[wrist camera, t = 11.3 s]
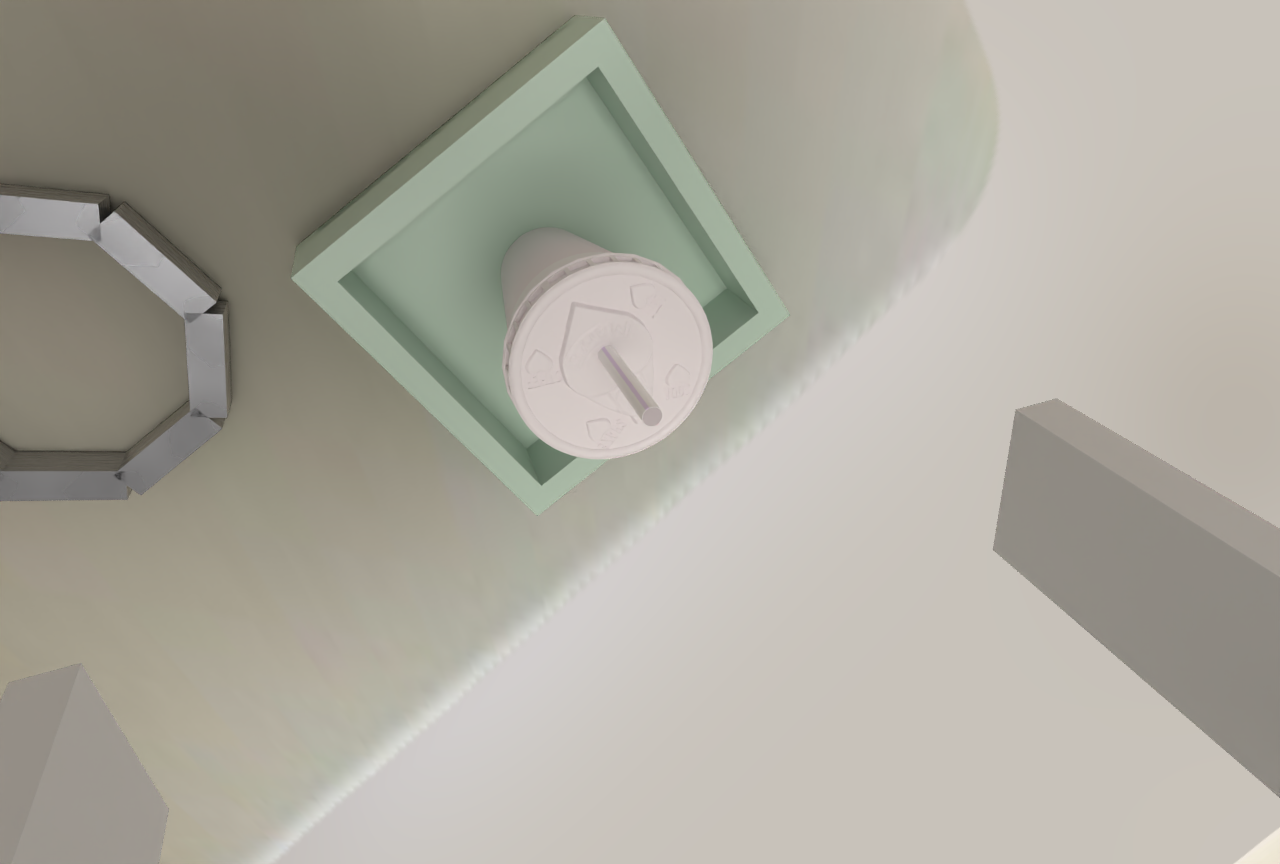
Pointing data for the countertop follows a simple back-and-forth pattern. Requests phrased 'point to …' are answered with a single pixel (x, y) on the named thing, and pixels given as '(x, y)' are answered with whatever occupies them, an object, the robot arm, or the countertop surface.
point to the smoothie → (599, 345)
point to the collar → (206, 346)
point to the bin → (505, 210)
